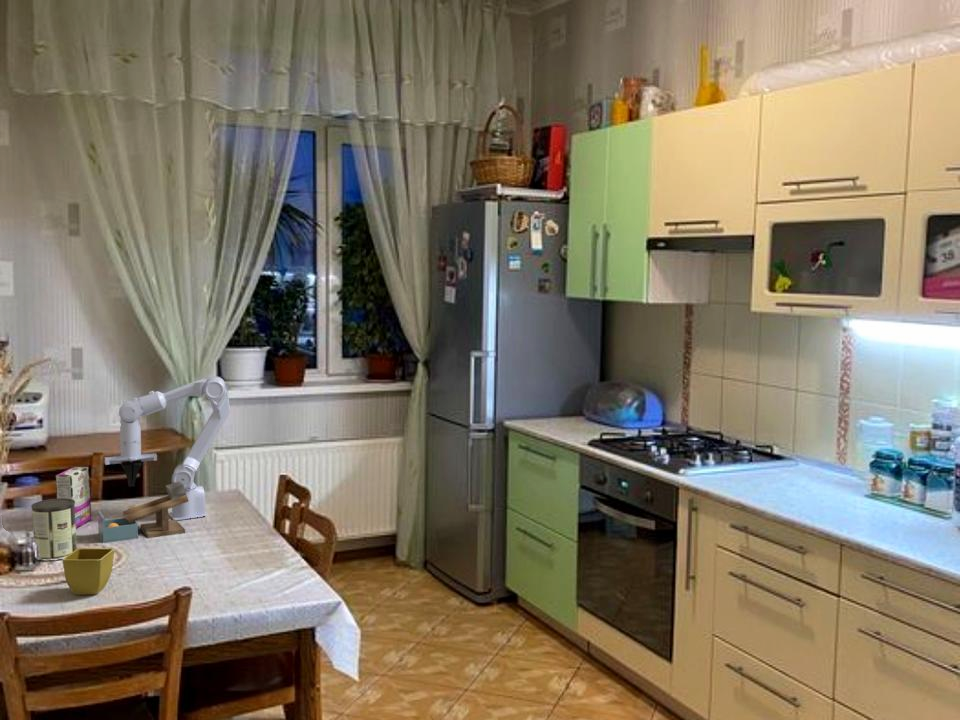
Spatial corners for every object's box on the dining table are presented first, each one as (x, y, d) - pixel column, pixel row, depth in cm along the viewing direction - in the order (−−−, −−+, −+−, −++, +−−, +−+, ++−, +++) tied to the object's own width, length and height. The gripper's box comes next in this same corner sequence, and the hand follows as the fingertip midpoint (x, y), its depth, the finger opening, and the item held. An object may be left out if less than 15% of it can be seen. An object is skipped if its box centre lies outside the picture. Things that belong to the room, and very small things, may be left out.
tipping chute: (179, 492, 267) (174, 476, 266) (188, 501, 257) (183, 484, 256) (121, 513, 259) (116, 496, 258) (128, 523, 249) (123, 506, 248)
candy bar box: (75, 520, 268) (73, 466, 266) (92, 520, 268) (89, 466, 266) (57, 530, 257) (54, 474, 255) (74, 530, 256) (72, 474, 255)
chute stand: (175, 522, 264) (174, 497, 264) (185, 532, 254) (184, 506, 253) (140, 527, 259) (139, 502, 259) (148, 537, 249) (147, 511, 248)
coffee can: (53, 548, 240) (51, 496, 238) (85, 551, 237) (83, 499, 236) (24, 559, 230) (22, 506, 228) (57, 563, 227) (55, 509, 226)
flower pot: (116, 584, 211) (115, 547, 210) (102, 597, 202) (100, 559, 201) (79, 585, 210) (77, 548, 210) (63, 598, 202) (61, 559, 201)
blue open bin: (132, 530, 257) (131, 506, 256) (138, 537, 249) (137, 513, 248) (98, 534, 252) (97, 510, 251) (103, 542, 244) (102, 517, 244)
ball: (121, 527, 252) (113, 519, 251) (123, 530, 249) (115, 522, 248) (110, 536, 251) (102, 527, 250) (112, 539, 248) (104, 530, 247)
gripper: (106, 445, 258) (107, 491, 260) (158, 441, 266) (159, 486, 267) (103, 441, 264) (104, 486, 266) (154, 437, 272) (154, 481, 273)
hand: (131, 486), depth 267 cm, fingers closed
